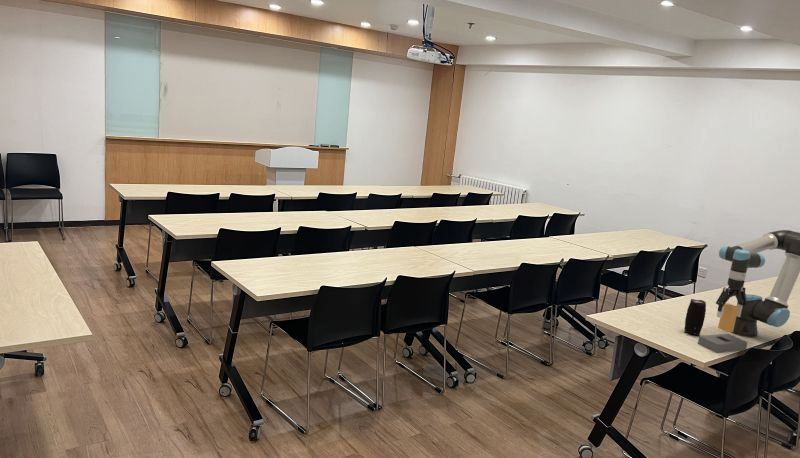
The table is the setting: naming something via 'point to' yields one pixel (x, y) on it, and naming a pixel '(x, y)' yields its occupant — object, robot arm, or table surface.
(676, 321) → the table surface
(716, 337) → the grey slotted base
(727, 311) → the plug
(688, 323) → the portable speaker
